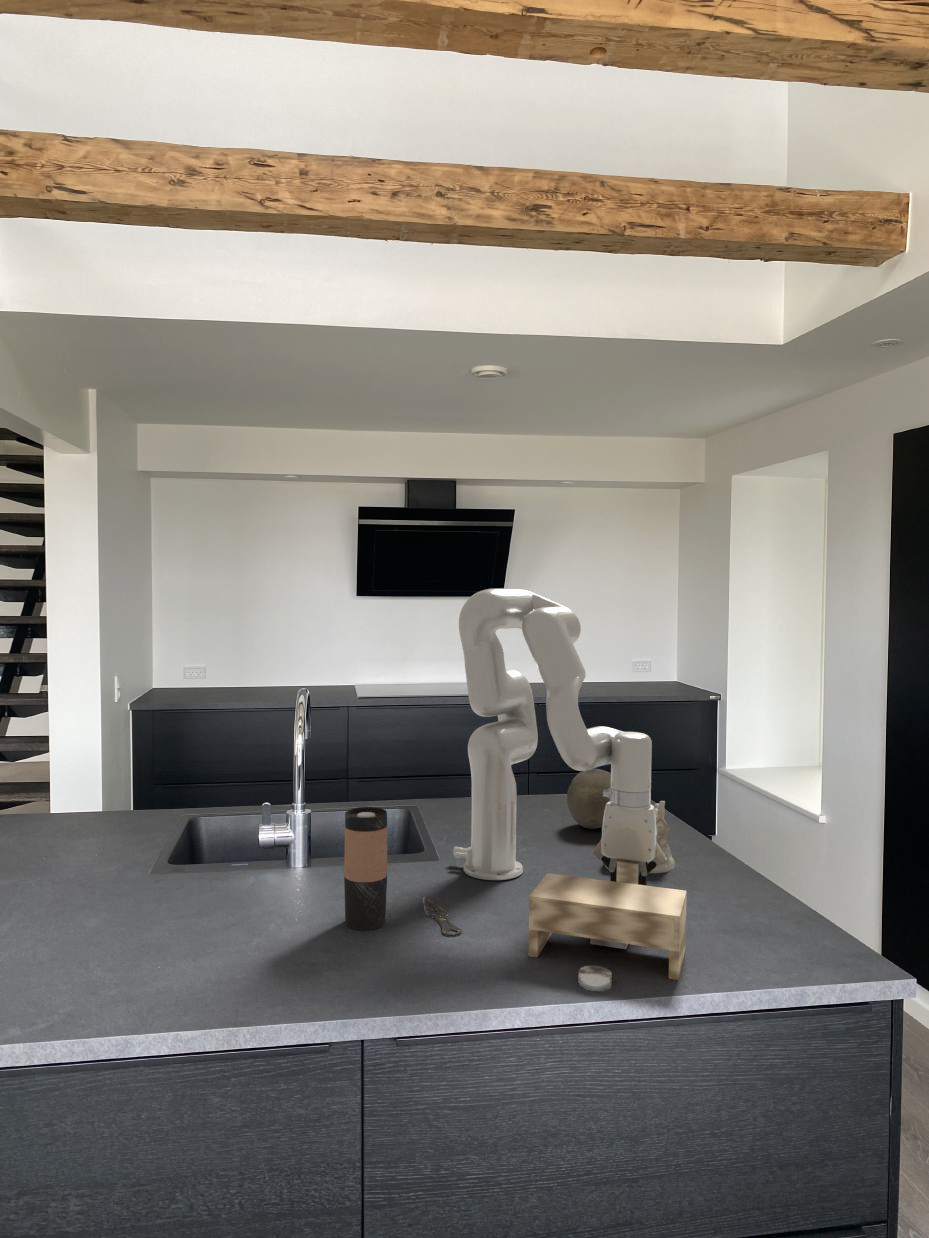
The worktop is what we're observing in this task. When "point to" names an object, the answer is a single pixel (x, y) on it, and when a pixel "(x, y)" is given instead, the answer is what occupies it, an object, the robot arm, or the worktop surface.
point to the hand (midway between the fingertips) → (628, 891)
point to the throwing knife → (444, 924)
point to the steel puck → (595, 978)
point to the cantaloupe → (589, 797)
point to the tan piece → (625, 874)
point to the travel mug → (365, 868)
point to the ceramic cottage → (662, 839)
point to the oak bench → (609, 914)
